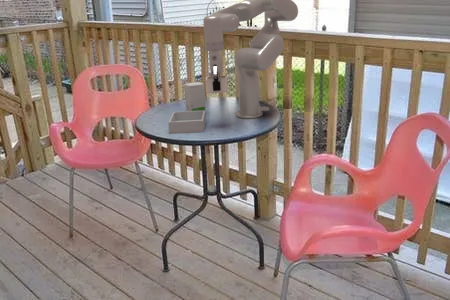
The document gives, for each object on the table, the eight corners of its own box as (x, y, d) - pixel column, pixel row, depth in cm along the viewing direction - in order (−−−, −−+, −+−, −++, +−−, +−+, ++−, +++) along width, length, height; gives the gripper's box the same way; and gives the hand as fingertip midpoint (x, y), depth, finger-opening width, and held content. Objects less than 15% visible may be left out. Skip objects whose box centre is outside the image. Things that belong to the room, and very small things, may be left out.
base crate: (206, 120, 201) (205, 110, 199) (203, 131, 186) (202, 120, 184) (174, 122, 201) (173, 112, 199) (169, 133, 186) (168, 122, 184)
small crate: (227, 88, 189) (226, 75, 187) (227, 92, 183) (226, 78, 181) (207, 90, 189) (206, 76, 187) (206, 93, 184) (205, 79, 182)
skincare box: (191, 117, 207) (188, 86, 201) (185, 114, 212) (183, 83, 207) (206, 114, 210) (204, 83, 204) (201, 111, 216) (198, 81, 210)
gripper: (222, 49, 171) (225, 93, 178) (223, 43, 187) (226, 83, 194) (204, 50, 172) (207, 94, 178) (206, 44, 188) (209, 84, 194)
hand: (217, 88), depth 186 cm, fingers closed on small crate, 6 cm apart
